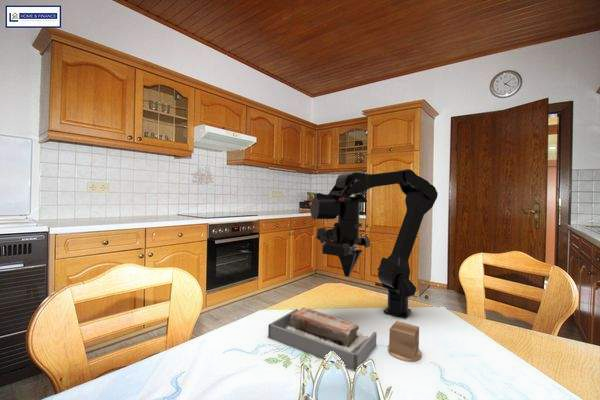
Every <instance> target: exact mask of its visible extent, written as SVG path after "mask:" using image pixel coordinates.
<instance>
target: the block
mask: <svg viewBox="0 0 600 400" xmlns="http://www.w3.org/2000/svg"><path fill="white" fill-rule="evenodd" d="M388 345H389V352H391V353H394V354H397V355H400V356H403V357H406V358H409V359H412V360H414V358H415V356H416V354H417V352H418V350H420V348H419V347H420V326H418V325H414V324H412V323H411V324H410V323H407V322H403V321H400V320H395V322H393V324H392V325H391V326H390V328H389V341H388ZM389 352H388V353H389Z"/></svg>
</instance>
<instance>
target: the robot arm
mask: <svg viewBox="0 0 600 400" xmlns="http://www.w3.org/2000/svg"><path fill="white" fill-rule="evenodd" d="M335 179H336V180H335V184H334V186H333V187H332V188H331V189H330V191H329V192H328V194H324V193H320V192H319V193H314V195H313V198H312V200H311V204H310V206H309V207H310V208H309V211H310V216H311V218H312V219H313V220H336V219H337V222H335V223H333V228H330V229H327V228H326V227H325V226H324V227H319V228H317V230H316V237H315V238H316V239H317V240H318V241H319V242H320V244H322V246H321V254H322V255H329V256H336V257H338V259H339V261H340V265H341V269H342V271H343V272H342V273H343V275H344V277H346V278H349V277H350V275H351V274H352V272H353V270H354V268H355V266H356V264H357V262H358V260H359V258H360V256H361V254H362V253H363V250H362V249H359V248H358V246H361V247H362V246H363V247H364V248H365V249H366V248H370V247H371V239H370V238H369V237H368V236H365V235H364V236H363V235H360V228H362V227H363V225H362V222H360V206H361V205H360V203H361V204H362V203H367V202H368V200H367V199H366V198H365V197H364V196H363V195H362V194H361V193H363V192H366V191H368V190H371V189H372V188H375V187H376V188H377V187H383V186H391V185H397V184H398V186H399V188H400V190H401V192H402V193H403V194H404V195H405V200H404V204H405V208H406V212H405V215H404V217H403V220H402V223H401V226H400V229H399V231H398V235H397V237H396V240H395V242H394V246H393V249H392V252H391V253H390V255H389V256H388V257H387V258H386V257H382V258H381V259H380V264H379V267H378V268H377V269H376V270H377V277H378V279H379V281H380V283H381V286H382V288H383V289H385V290H387V307H385V308H384V310H383V313H385V314H389V315H392V316H396V317H400V318H404V319H407V318H408V316H409V315H410V314H411V312H412V308H409V298H411V297H412V296H415V295H416V292H417V287H416V286H415V285H414V284H413V282H412V280H411V279H410V275H411V269H410V268H411V267H410V263H409V260H410V256H411V254H412V252H413V251H412V250H413V247H414V245H415V242H416V239H417V237H418V233H419V230H420V227H421V224H422V221H423V219H424V216H425V215H426V214H427V213H428V212H429V211H430V210H432V208H433V207H434V205H435V203H436V201H437V198H438V194H439V193H438V190H437V189H436V187H435V186H434V185H433V184H431V183H430V182H429V181H428V180H426V179H425V178H423V177H421V176H419V175H418V174H417V173H415V171H414V170H413V169H410V168H405V169H403V168H402V169H399V170H395V171H387V172H379V173H365V172H355V171H353V172H346V173H342V174H339V175H338V176H337V178H335ZM352 195H354V196H352ZM340 198H342V199H340Z"/></svg>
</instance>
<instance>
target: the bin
mask: <svg viewBox="0 0 600 400" xmlns="http://www.w3.org/2000/svg"><path fill="white" fill-rule="evenodd" d="M298 310H299V309H297V308H295V309H293V310H291V311H290V312H288V313H286V314H285V315H283V316H281V317H279V318H278V319H275V320H274V321H272V322H271V323H269V324H268V327H267V329H268V330H267V331H268V332H267V337H268V338H269V339H272V340H275V341H277V342H279V343H282V344H284V345H287V346H290V347H292V348H295V349H297V350H299V351H300V350H301V351H303V352H306V353H308V354H311V355H314V356H316V357H318V358H320V359H323V358H324V357H325V355H326V354H328V353H329V352H330V351H334V352H335V353H336V354H337V355H338V356H339V357H340V358H341V360H342V361H343V362H344V364H345V365H346V367H347V368H346V367H345V368H346V369H349V370H352V371H353V372H356V371H355V370H356V369H357V367H358V366H359V365H360V364H361V363H362V362H363V361H364V362H365V361H366V359H368V357H369V355H370V354H372V352H373V350H374V349H375V348H376V347H377V336H378V335H377V333H378V332H377V331H373V332H372V333H371V334H370V336H368V339H367V340H366V341H365V343H364V344H363V345H362V346H361V347H360V348H359V349H358V350H357V351H356V352H355V353H352V352H349V351H346V350H344V349H341V348H338V347H335V346H332V345H329V344H326V343H324V342H321V341H318V340H315V339H312V338H309V337H307V336H304V335H301V334H298V333H295V332H292V331H289V330H287V329H286V326H289V325H290V321H291V319H290V317H291V316H290V315H291V314H292V313H294V312H296V311H298ZM364 362H363V363H364ZM363 363H362V364H363Z"/></svg>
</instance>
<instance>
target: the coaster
mask: <svg viewBox="0 0 600 400" xmlns="http://www.w3.org/2000/svg"><path fill="white" fill-rule="evenodd" d="M387 352H388V353H389V355H390V356H392V357H394V358H396V359H397V360H400V361H404V362H417V361H419V360H421V359H422V356H423V354H422V351H421V349H419V350H418V352H417V354H416V356H415V358H414V360H412V359H409V358H406V357H403V356H400V355H397V354H394V353H391V352H389V344H388V345H387Z"/></svg>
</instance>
